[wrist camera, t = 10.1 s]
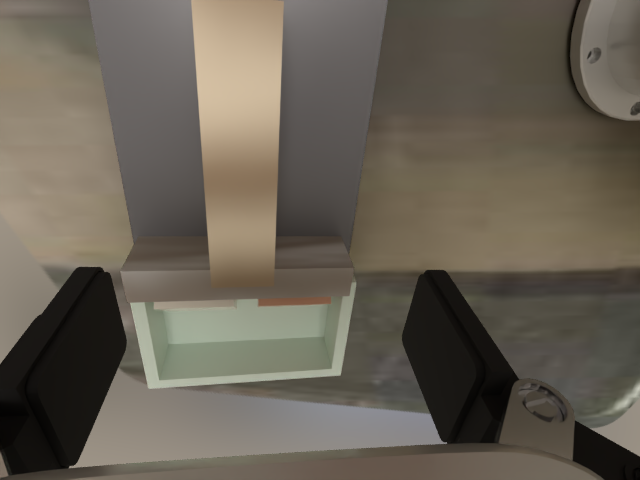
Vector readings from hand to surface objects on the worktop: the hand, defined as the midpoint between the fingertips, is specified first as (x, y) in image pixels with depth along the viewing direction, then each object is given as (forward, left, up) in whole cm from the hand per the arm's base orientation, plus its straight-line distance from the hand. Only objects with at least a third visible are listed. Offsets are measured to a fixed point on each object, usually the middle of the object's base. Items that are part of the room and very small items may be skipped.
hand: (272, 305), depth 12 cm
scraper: (-1, -1, -11) cm, 11 cm away
